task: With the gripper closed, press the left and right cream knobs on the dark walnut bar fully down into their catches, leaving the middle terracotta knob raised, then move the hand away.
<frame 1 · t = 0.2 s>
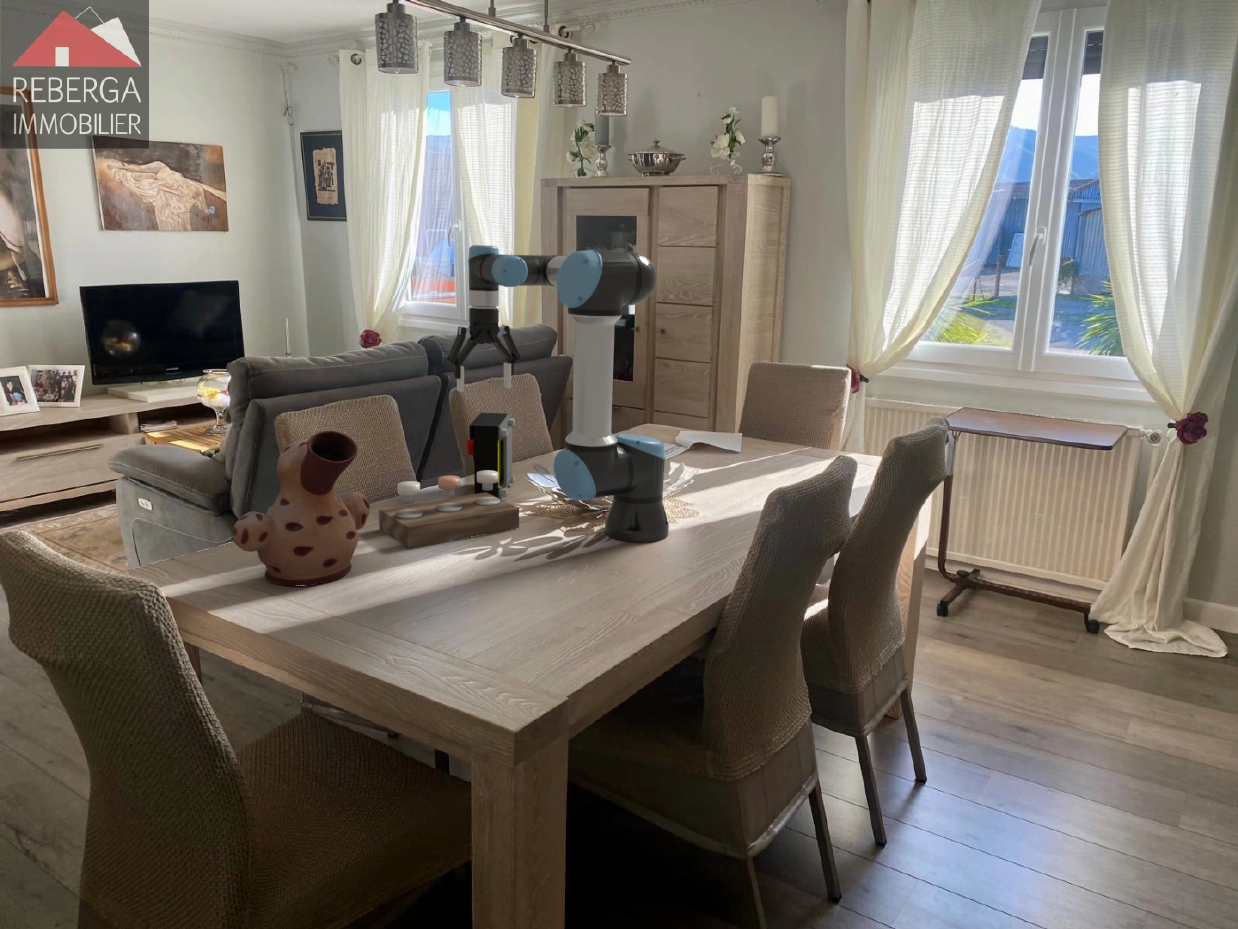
hand: (484, 389, 241), 28 cm above the table, tool pointing down, fingers open, 13 cm apart
left knob: (408, 492, 208), point 10 cm above the table, slide at 0.0 cm
vessel: (316, 576, 185), on the table
electrical component: (492, 493, 248), on the table
right knob: (487, 481, 220), point 10 cm above the table, slide at 0.0 cm
knob bar: (449, 529, 216), on the table
middle knob: (449, 486, 214), point 10 cm above the table, slide at 0.0 cm
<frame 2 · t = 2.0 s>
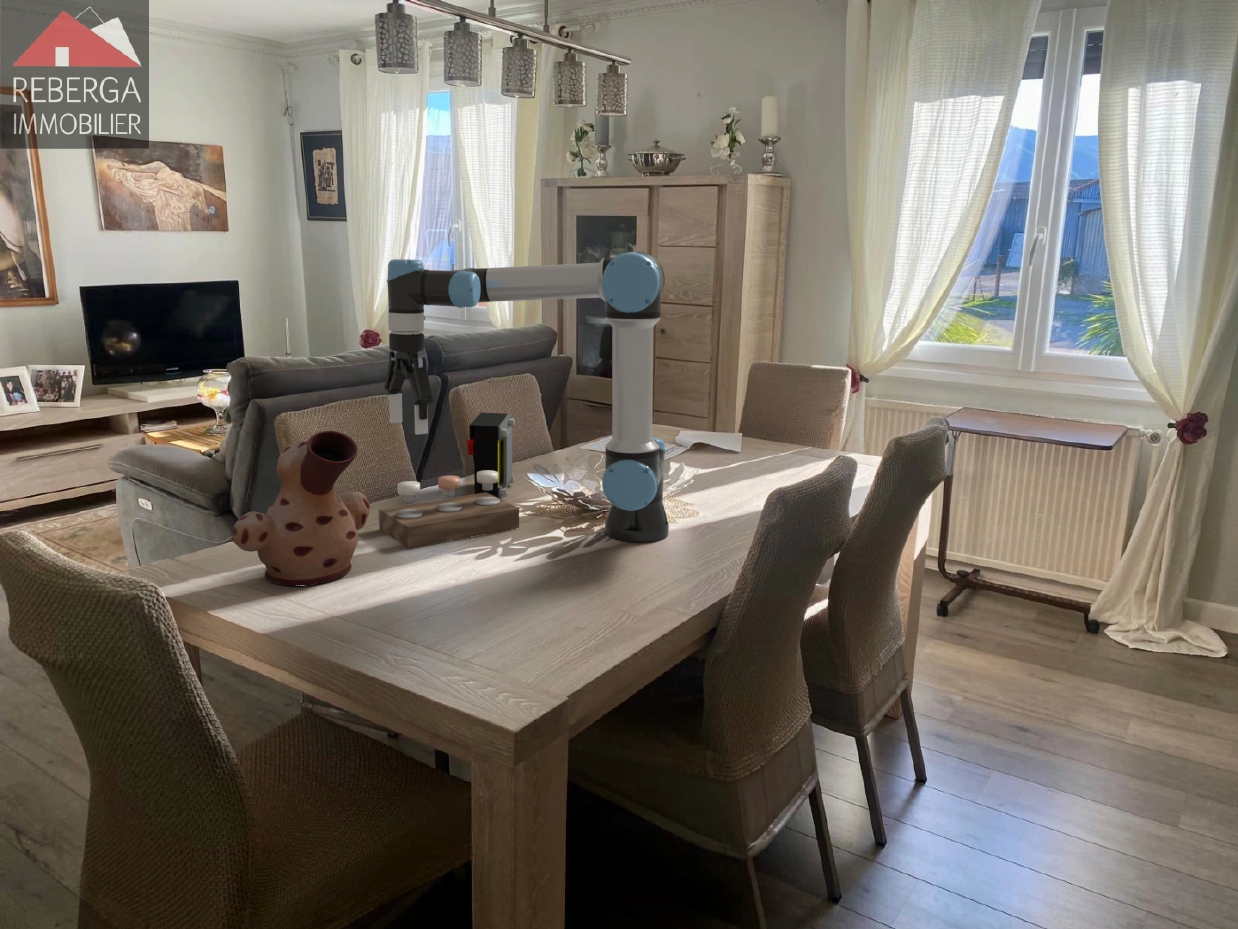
hand: (408, 428, 205), 25 cm above the table, tool pointing down, fingers open, 13 cm apart
nothing on the table moved.
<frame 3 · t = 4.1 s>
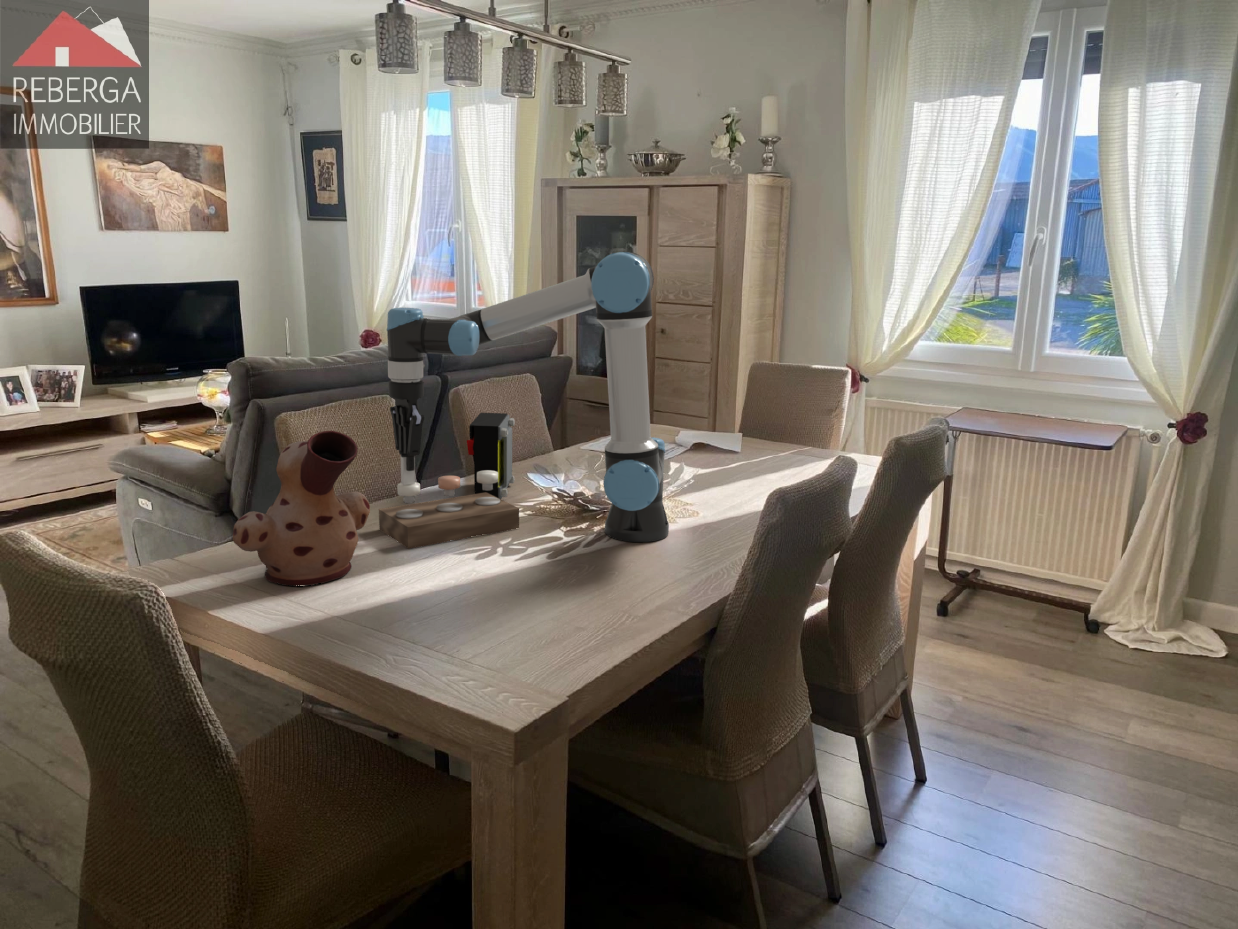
hand: (408, 483, 208), 12 cm above the table, tool pointing down, fingers closed
left knob: (409, 493, 208), point 10 cm above the table, slide at 0.2 cm, touching gripper
everything else where it was.
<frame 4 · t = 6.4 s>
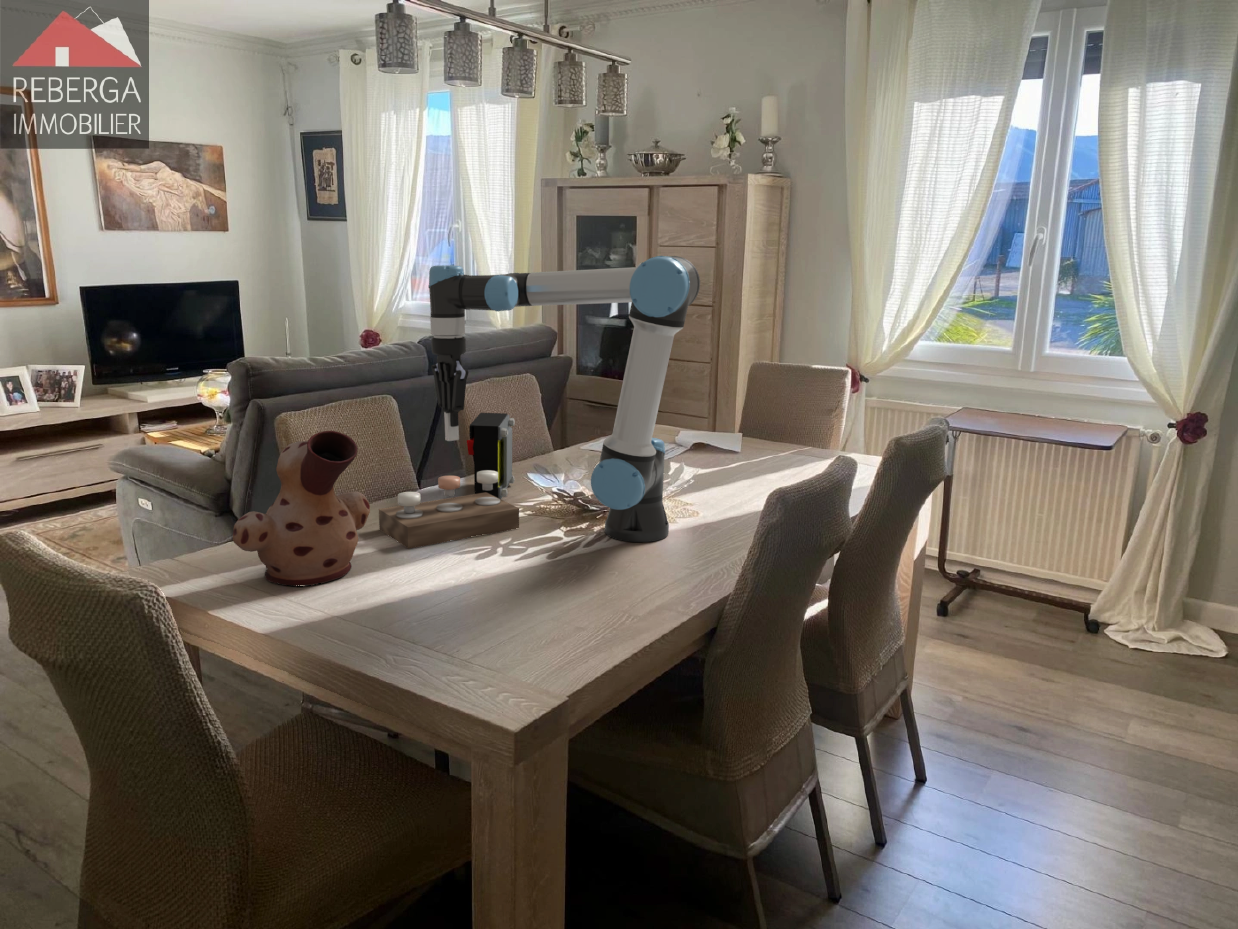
hand: (452, 439, 211), 21 cm above the table, tool pointing down, fingers closed
left knob: (409, 503, 209), point 8 cm above the table, slide at 2.5 cm
everything else where it was.
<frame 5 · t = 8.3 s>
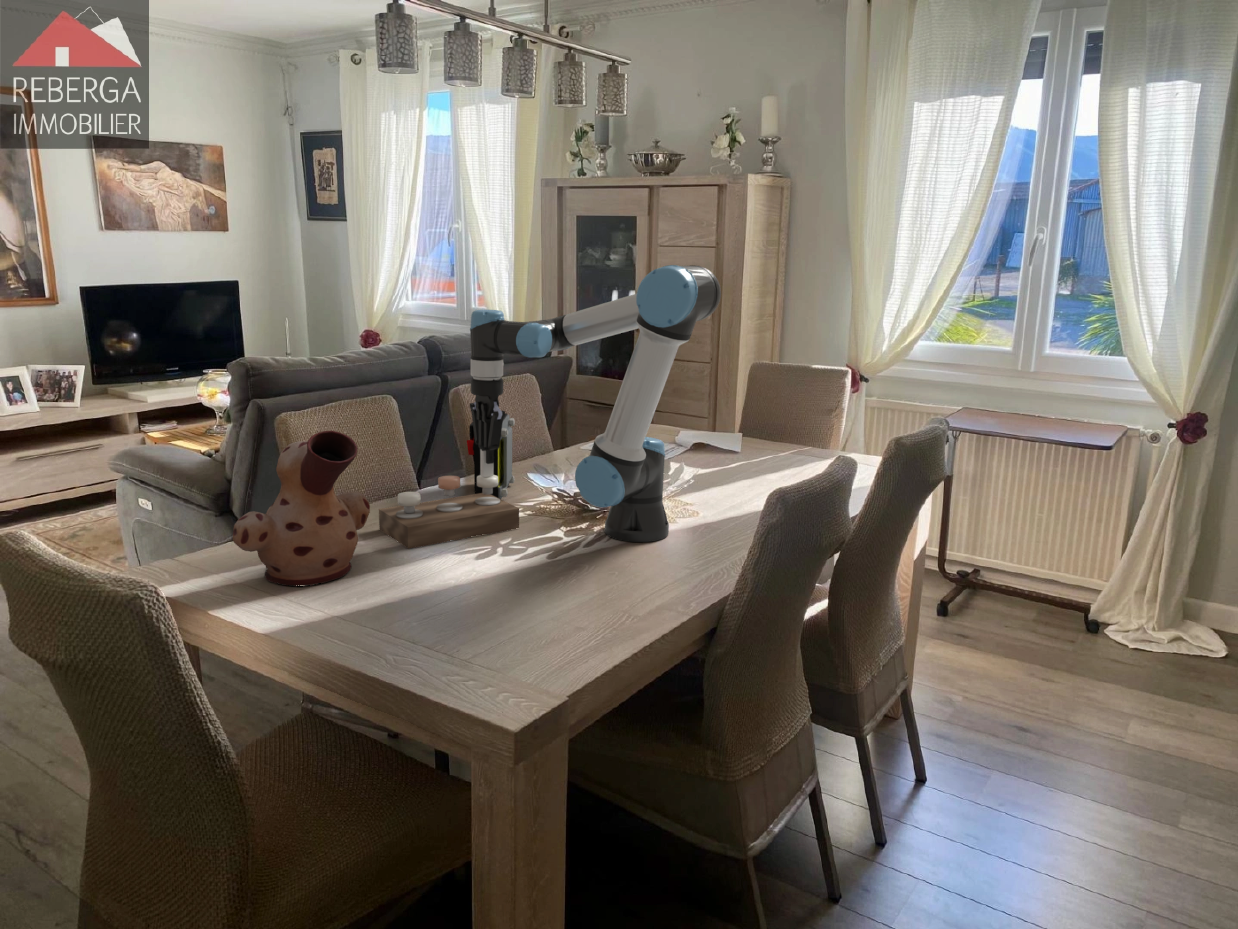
hand: (486, 475, 219), 12 cm above the table, tool pointing down, fingers closed
right knob: (487, 485, 220), point 9 cm above the table, slide at 1.0 cm, touching gripper
everything else where it was.
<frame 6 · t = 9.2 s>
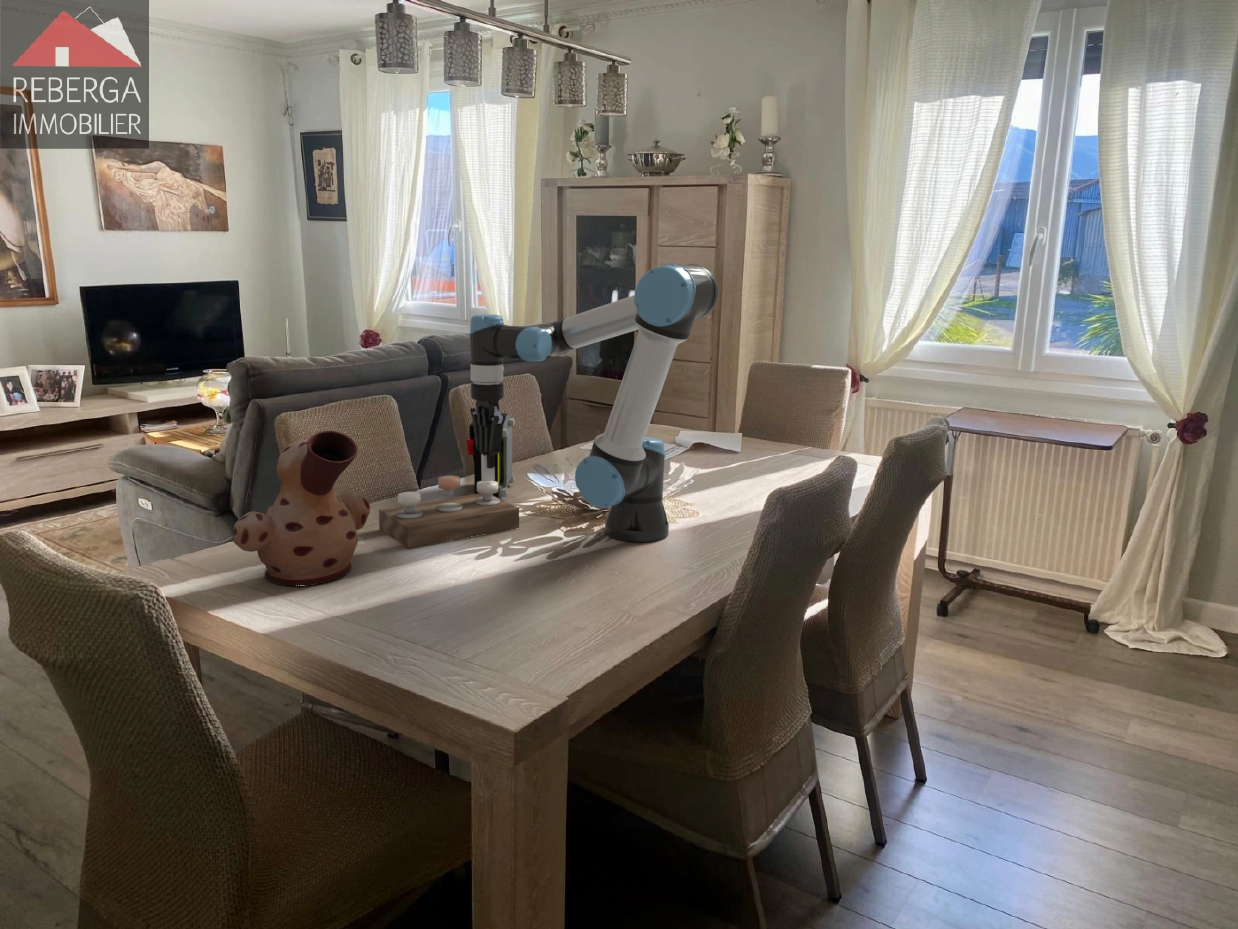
hand: (488, 480, 220), 10 cm above the table, tool pointing down, fingers closed
right knob: (487, 491, 220), point 8 cm above the table, slide at 2.5 cm
everything else where it was.
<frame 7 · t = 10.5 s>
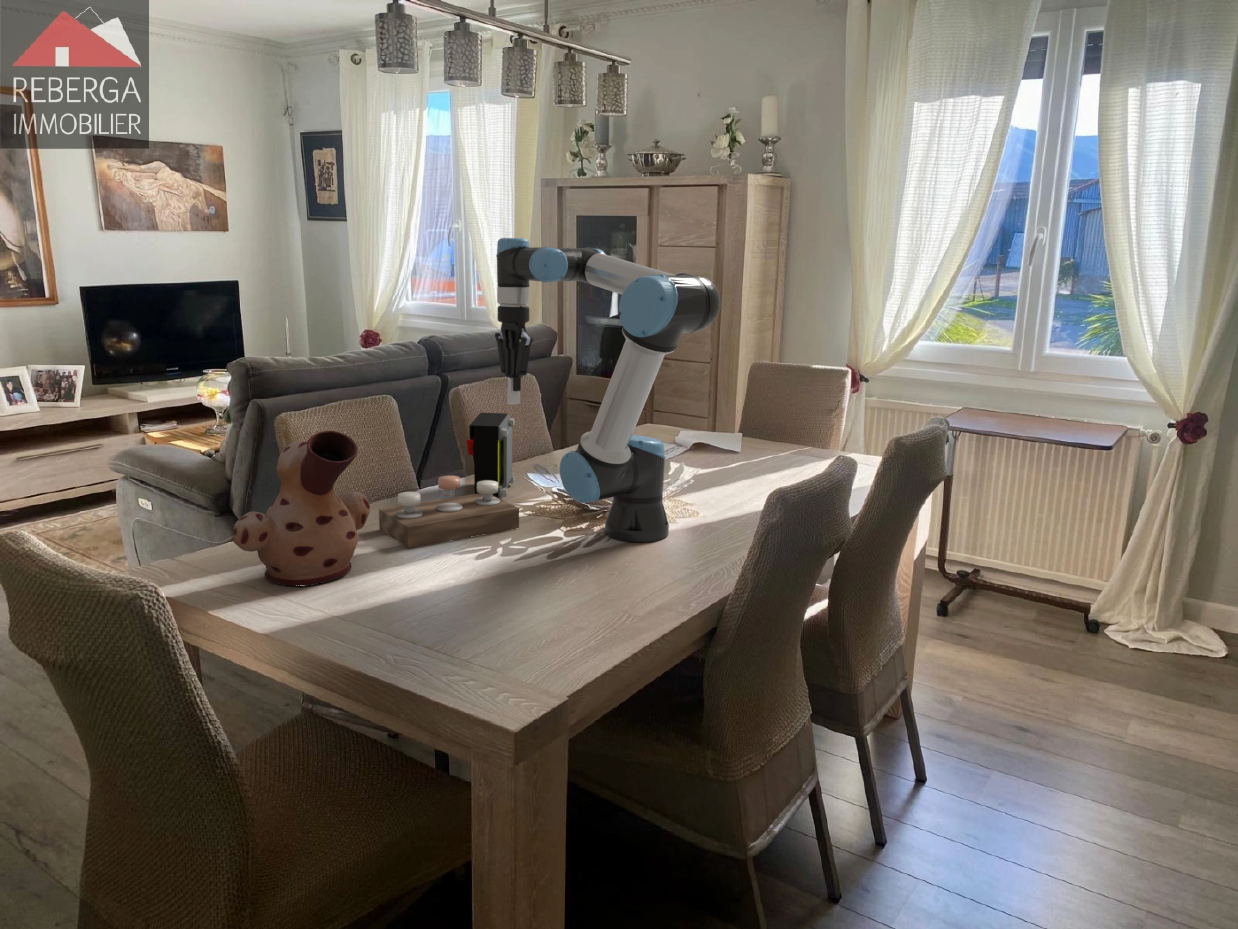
hand: (513, 403, 223), 28 cm above the table, tool pointing down, fingers closed
nothing on the table moved.
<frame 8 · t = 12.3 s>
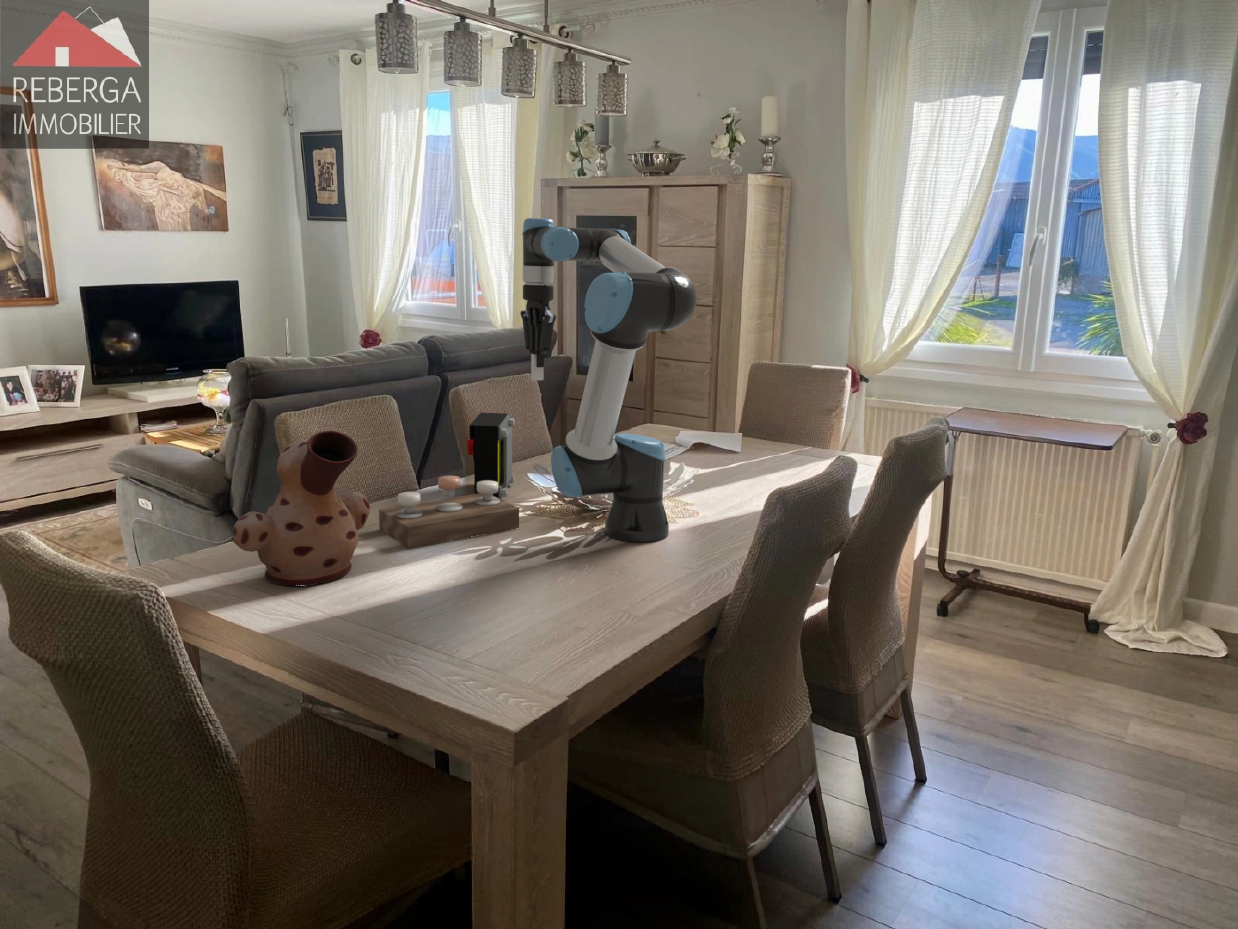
hand: (537, 379, 230), 32 cm above the table, tool pointing down, fingers closed
nothing on the table moved.
at the end: left knob slide at 2.5 cm; right knob slide at 2.5 cm; middle knob slide at 0.0 cm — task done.
